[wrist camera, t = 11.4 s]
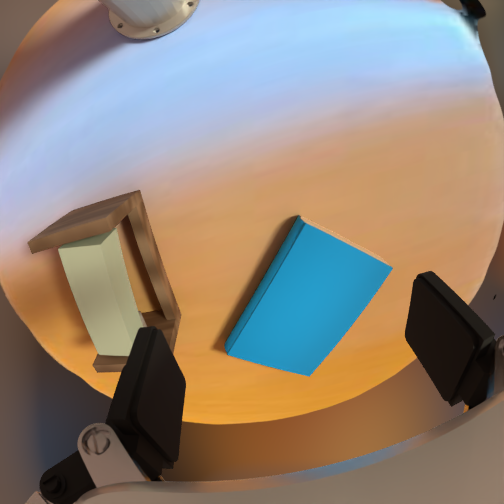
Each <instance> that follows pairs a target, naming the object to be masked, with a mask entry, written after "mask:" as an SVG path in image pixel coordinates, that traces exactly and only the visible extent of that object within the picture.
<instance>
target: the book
mask: <svg viewBox="0 0 504 504" xmlns="http://www.w3.org/2000/svg"><path fill="white" fill-rule="evenodd" d="M299 216H300V215H299ZM299 216H298V218H297V220H296V221H295V223H294V225H293V227H292V228H291V230H290V232H289V234H288V236H287V237H286V239H285V241H284V243H283V244H282V246H281V248H280V250H279V251H278V253H277V255H276V257H275V258H274V260H273V262H272V264H271V265H270V267H269V269H268V271H267V272H266V274H265V276H264V278H263V279H262V281H261V283H260V285H259V286H258V288H257V290H256V291H255V293H254V295H253V297H252V298H251V300H250V302H249V303H248V305H247V307H246V308H245V310H244V312H243V314H242V315H241V317H240V319H239V320H238V322H237V324H236V325H235V327H234V329H233V330H232V332H231V334H230V336H229V337H228V339H227V341H226V342H225V350H226V352H227V355H230V356H233V357H237V358H240V359H243V360H247V361H250V362H254V363H258V364H261V365H265V366H269V367H273V368H277V369H280V370H284V371H289V372H293V373H297V374H301V375H306V376H310V375H311V374H312V373H313V372H314V371H315V369H316V368H317V367H318V366H319V365H320V364H321V363H322V361H323V360H324V359H325V358H326V357H327V355H328V354H329V353H330V352H331V351H332V350H333V348H334V347H335V346H336V345H337V343H338V342H339V341H340V340H341V338H342V337H343V336H344V335H345V333H346V332H347V331H348V330H349V328H350V327H351V326H352V325H353V323H354V322H355V321H356V319H357V318H358V317H359V315H360V314H361V313H362V311H363V310H364V309H365V307H366V306H367V305H368V303H369V302H370V301H371V299H372V298H373V296H374V295H375V294H376V292H377V291H378V289H379V288H380V287H381V285H382V284H383V282H384V281H385V279H386V278H387V276H388V275H389V273H390V272H391V270H392V269H393V268H392V267H391V266H389V265H388V264H387V263H386V261H385V260H384V259H383V258H382V257H380V256H378V255H376V254H374V253H372V252H370V251H369V250H367V249H365V248H363V247H361V246H359V245H357V244H356V243H354V242H352V241H350V240H348V239H346V238H344V237H342V236H340V235H338V234H336V233H334V232H332V231H331V230H329V229H327V228H325V227H323V226H321V225H319V224H317V223H315V222H313V221H311V220H309V219H307V218H305V217H303V216H301V217H299ZM303 220H304V221H303Z"/></svg>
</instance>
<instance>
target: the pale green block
mask: <svg viewBox="0 0 504 504" xmlns="http://www.w3.org/2000/svg"><path fill="white" fill-rule="evenodd" d="M58 251H59V254H60V258H61V261H62V264H63V267H64V270H65V273H66V276H67V279H68V282H69V285H70V287H71V290H72V293H73V296H74V298H75V301H76V303H77V306H78V309H79V311H80V313H81V316H82V318H83V321H84V323H85V325H86V328H87V330H88V332H89V334H90V337H91V339H92V341H93V343H94V345H95V347H96V350H97V352H98V354H99V355H113V356H129V354H130V351H131V348H132V345H133V343H134V340H135V337H136V334H137V332H138V329H139V328H140V327H143V325H142V322H141V319H140V315H139V312H138V309H137V306H136V302H135V299H134V296H133V292H132V289H131V285H130V281H129V278H128V274H127V270H126V266H125V262H124V258H123V254H122V250H121V246H120V242H119V237H118V233H117V228H113V229H112V230H111V231H110V232H107V233H103V234H99V235H95V236H92V237H88V238H84V239H81V240H77V241H74V242H70V243H67V244H63V245H62V246H61V247H60V248H59V249H58Z"/></svg>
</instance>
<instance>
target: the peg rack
mask: <svg viewBox="0 0 504 504" xmlns="http://www.w3.org/2000/svg"><path fill="white" fill-rule="evenodd" d="M126 215H128V217H129V220H130V223H131V226H132V229H133V232H134V235H135V238H136V241H137V244H138V247H139V250H140V253H141V255H142V258H143V261H144V264H145V267H146V269H147V272H148V275H149V277H150V280H151V282H152V285H153V288H154V290H155V293H156V295H157V298H158V300H159V303H160V305H161V308H162V310H159V311H153V312H146V313H141V312H140V311H138V312H139V315H140V319H141V322H142V325H143V327H149V326H155V327H156V328H157V329H161V330H162V332H163V334H164V336H165V338H166V341H167V343H168V345H169V347H170V349H171V351H172V353H173V352H174V347H175V342H176V338H177V333H178V328H179V324H180V319H181V312H180V310H179V307H178V305H177V302H176V299H175V297H174V294H173V291H172V289H171V286H170V283H169V280H168V277H167V275H166V272H165V269H164V266H163V263H162V260H161V257H160V254H159V251H158V248H157V245H156V242H155V239H154V236H153V233H152V229H151V226H150V223H149V220H148V216H147V213H146V209H145V206H144V203H143V199H142V196H141V192H140V190H138V191H134V192H131V193H127V194H124V195H120V196H117V197H113V198H110V199H107V200H104V201H100V202H97V203H94V204H91V205H88V206H85V207H82V208H79V209H76V210H73V211H71V212H69V213H68V214H66V215H65V216H63V217H62V218H60V219H59V220H58V221H56V222H55V223H53V224H52V225H50V226H49V227H48V228H46V229H45V230H44V231H42V232H41V233H39V234H38V235H37V236H35V237H34V238H33V239H31V240H30V241H29V242H28V245H29V247H30V250H31V252H32V254H33V253H36V252H40V251H43V250H46V249H49V248H53V247H56V246H60V245H63V244H67V243H70V242H74V241H77V240H81V239H84V238H88V237H92V236H95V235H99V234H103V233H107V232H110V231H111V230H112V229H113V228H114V227H115V226H116V225H117V224H118V223H119V222H120V221H121V220H122V219H123V218H124V217H125V216H126ZM128 357H129V356H113V355H99V354H97V357H96V359H95V361H94V363H93V367H94V368H95V370H96V371H97V372H122V369H123V367H124V365H126V362H127V359H128Z"/></svg>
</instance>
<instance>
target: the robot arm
mask: <svg viewBox="0 0 504 504" xmlns="http://www.w3.org/2000/svg"><path fill="white" fill-rule="evenodd" d="M98 1H99V2H101V3H102V4H103V5H104V6H106V7H107V8H108V9H109V19H110V22H111V24H112V26H113V27H114V28H115V29H116V30H117V31H118V32H119V33H121V34H122V35H124V36H126V37H128V38H133V39H143V40H144V39H153V38H156V37H160V36H163V35H165V34H168V33H170V32H172V31H174V30H175V29H177V28H179V27H180V26H181V25H182V24H184V23H185V22H186V21H187V20H188V19H189V18H190V17H191V16H192V14H193V13H194V11H195V10H196V8H197V6H198V3H199V0H98ZM191 5H192V6H191ZM189 6H191V7H189ZM122 26H123V27H122ZM121 27H122V28H121ZM157 31H159V32H158V33H157ZM494 336H495V334H494V332H492V330H491V329H490V328H489V327H488V326H487V325H486V324H485V323H484V322H483V320H482V319H481V318H480V317H479V316H478V315H477V314H476V313H475V312H474V311H473V310H472V309H471V308H470V307H469V306H468V305H467V304H466V303H465V302H464V301H463V300H462V299H461V298H460V297H459V296H458V295H457V294H456V293H455V292H454V291H453V290H452V289H451V288H450V287H449V286H448V285H447V284H446V283H445V282H443V281H442V280H441V279H440V278H439V277H438V276H437V275H436V274H435V273H434V272H432V271H428V272H425V273H421V274H418V275H417V277H416V279H415V280H414V282H413V288H412V295H411V301H410V307H409V313H408V319H407V324H406V329H405V338H406V341H407V342H408V344H409V345H410V347H411V348H412V350H413V351H414V353H415V354H416V356H417V358H418V359H419V361H420V362H421V363H422V365H423V367H424V368H425V370H426V372H427V373H428V375H429V376H430V378H431V380H432V381H433V383H434V385H435V386H436V388H437V390H438V391H439V393H440V394H441V396H442V398H443V399H444V400H445V401H448V402H449V404H450V405H451V406H453V405H455V404H457V403H459V402H461V401H462V400H463V401H464V403H465V408H464V413H463V414H461V415H459V416H457V417H455V418H453V419H451V420H449V421H447V422H445V423H443V424H441V425H439V426H437V427H435V428H433V429H431V430H429V431H426V432H424V433H422V434H420V435H418V436H415V437H413V438H410V439H408V440H405V441H403V442H401V443H398V444H395V445H392V446H390V447H387V448H384V449H382V450H379V451H376V452H373V453H370V454H367V455H363V456H360V457H357V458H353V459H350V460H347V461H343V462H339V463H336V464H331V465H327V466H324V467H319V468H314V469H310V470H304V471H299V472H294V473H288V474H282V475H276V476H269V477H261V478H252V479H242V480H227V481H208V482H165V481H164V479H163V478H162V477H161V476H160V475H161V474H162V468H166V469H173V465H174V462H176V461H177V460H178V456H179V445H180V434H181V425H182V415H183V406H184V398H185V389H186V381H185V378H184V376H183V374H182V372H181V370H180V368H179V366H178V364H177V362H176V360H175V357H174V355H173V353H172V351H171V349H170V347H169V345H168V343H167V341H166V338H165V336H164V334H163V332H162V330H161V329H157V328H156V327H155V326H149V327H140V328H139V329H138V332H137V334H136V337H135V340H134V343H133V345H132V348H131V351H130V354H129V357H128V359H127V362H126V365H124V367H123V369H122V372H121V375H120V378H119V381H118V384H117V387H116V390H115V393H114V397H113V400H112V403H111V406H110V409H109V413H108V416H107V419H106V423H105V424H104V423H94V424H92V425H89V426H88V427H86V428H85V429H84V430H83V431H82V433H81V434H80V436H79V439H78V449H79V450H78V451H76V452H75V453H73V454H72V455H70V456H69V457H67V458H66V459H64V460H63V461H61V462H60V463H58V464H56V465H55V466H53V467H52V468H50V469H48V470H47V471H46V472H45V473H44V474H43V475H42V477H41V480H40V492H37V491H35V492H34V494H33V495H32V496H31V497H30V498H29V499H28V501H27V502H26V503H25V504H504V335H502V336H501V337H499V338H498V339H497V341H495V339H494Z"/></svg>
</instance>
